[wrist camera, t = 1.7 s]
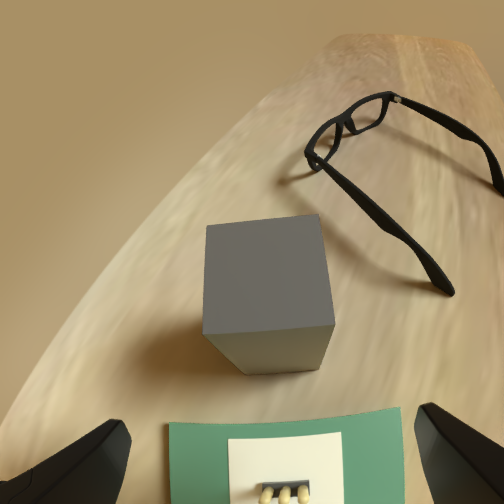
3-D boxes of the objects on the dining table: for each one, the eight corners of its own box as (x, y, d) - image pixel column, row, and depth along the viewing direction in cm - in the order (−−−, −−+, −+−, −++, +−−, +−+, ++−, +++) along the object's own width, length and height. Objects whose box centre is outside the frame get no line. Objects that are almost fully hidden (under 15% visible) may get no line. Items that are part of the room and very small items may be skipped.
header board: (399, 523, 14) (421, 544, 10) (179, 534, 15) (151, 554, 11) (394, 407, 18) (419, 402, 14) (175, 422, 20) (145, 420, 16)
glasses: (381, 116, 34) (384, 81, 30) (508, 194, 25) (525, 161, 21) (286, 189, 30) (281, 149, 26) (444, 307, 21) (469, 278, 17)
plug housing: (312, 301, 23) (318, 214, 14) (318, 369, 20) (335, 324, 11) (243, 307, 23) (206, 225, 14) (245, 374, 21) (202, 334, 12)
